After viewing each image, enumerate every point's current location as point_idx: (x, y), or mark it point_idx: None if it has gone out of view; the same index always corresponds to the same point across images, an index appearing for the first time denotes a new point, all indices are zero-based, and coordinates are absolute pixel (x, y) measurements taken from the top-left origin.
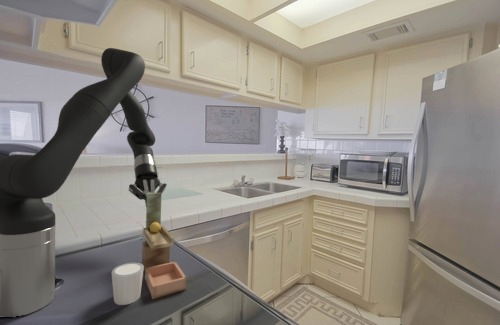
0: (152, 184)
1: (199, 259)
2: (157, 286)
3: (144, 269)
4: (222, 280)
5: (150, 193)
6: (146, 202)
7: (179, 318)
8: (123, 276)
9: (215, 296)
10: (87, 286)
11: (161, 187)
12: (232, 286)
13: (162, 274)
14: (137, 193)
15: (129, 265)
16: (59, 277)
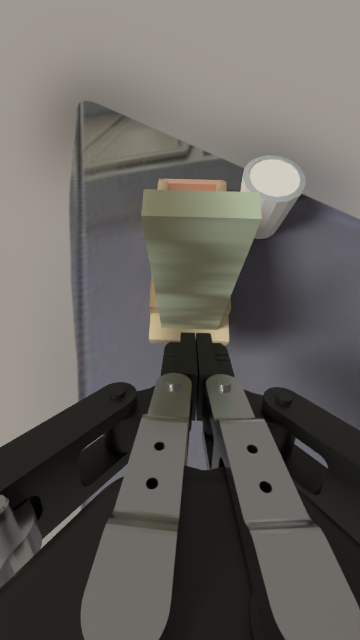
0: (149, 499)
1: (77, 286)
2: (214, 181)
3: None
4: (88, 190)
5: (233, 204)
6: (227, 358)
7: (194, 149)
8: (283, 157)
9: (126, 162)
10: (330, 288)
11: (27, 462)
12: (85, 170)
13: None
14: (329, 420)
15: (271, 190)
16: None
